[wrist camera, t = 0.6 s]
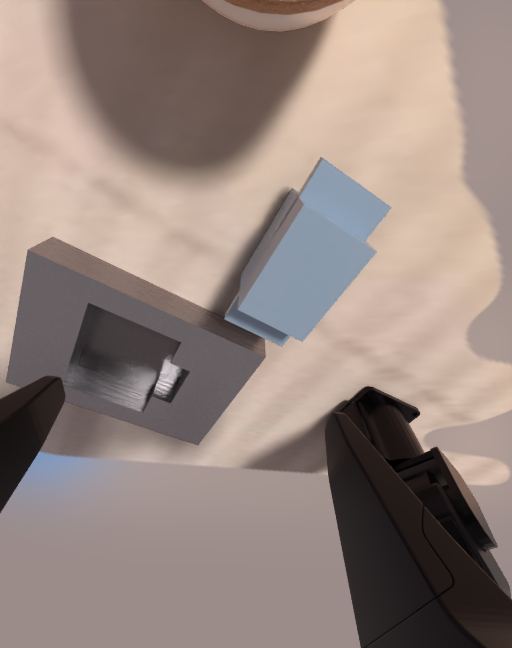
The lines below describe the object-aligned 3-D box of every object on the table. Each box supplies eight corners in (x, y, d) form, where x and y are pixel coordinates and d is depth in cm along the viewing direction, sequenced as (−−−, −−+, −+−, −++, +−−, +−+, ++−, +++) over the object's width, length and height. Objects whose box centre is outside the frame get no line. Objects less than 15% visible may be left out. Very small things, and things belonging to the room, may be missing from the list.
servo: (390, 210, 18) (431, 233, 14) (295, 330, 23) (304, 373, 19) (312, 154, 17) (331, 161, 12) (228, 296, 21) (221, 335, 17)
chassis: (264, 337, 23) (265, 357, 21) (201, 422, 29) (197, 445, 27) (52, 236, 19) (27, 249, 17) (27, 361, 25) (5, 382, 22)
